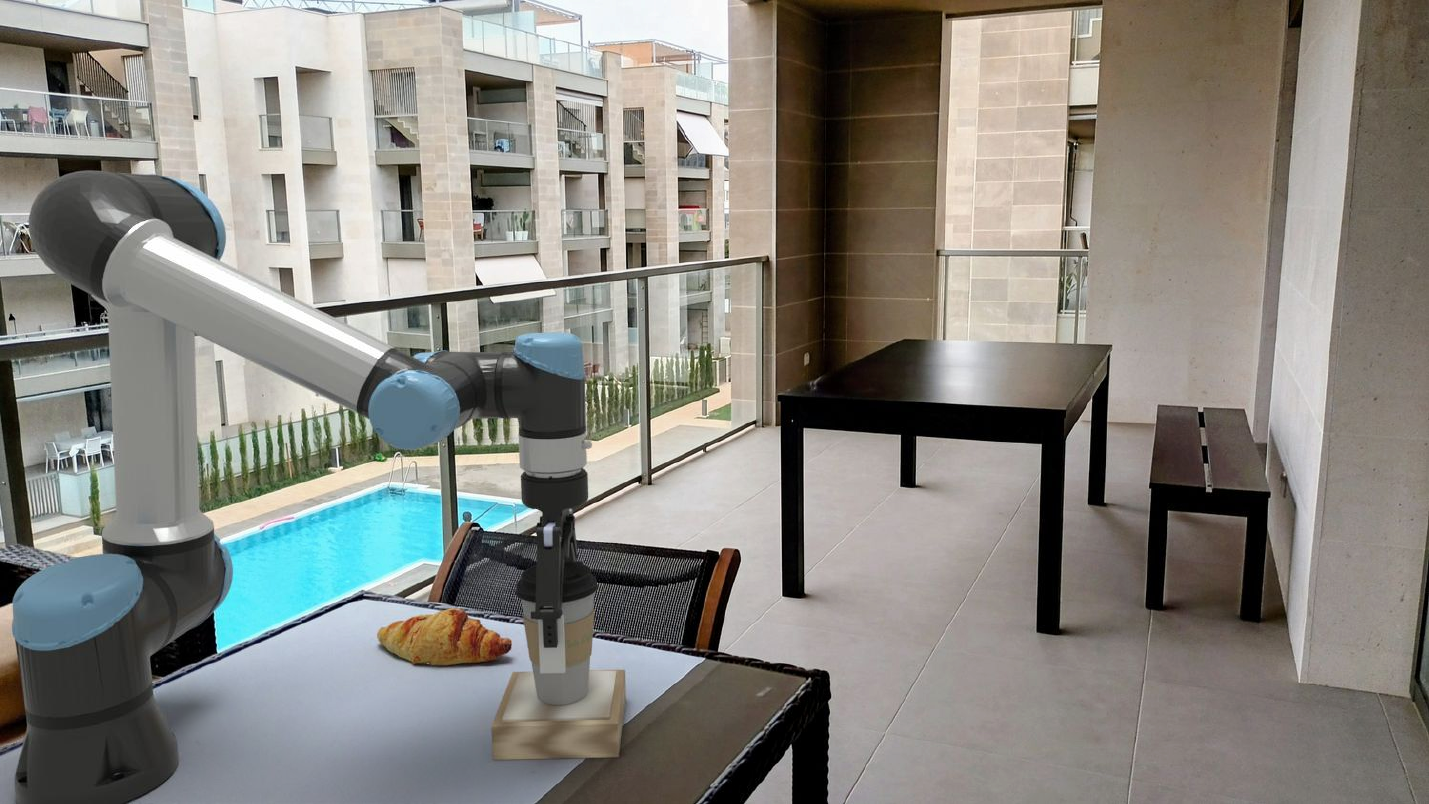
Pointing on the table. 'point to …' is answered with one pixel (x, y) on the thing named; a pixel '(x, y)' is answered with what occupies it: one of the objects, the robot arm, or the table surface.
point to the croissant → (443, 639)
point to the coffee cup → (576, 633)
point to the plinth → (560, 720)
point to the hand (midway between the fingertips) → (560, 646)
